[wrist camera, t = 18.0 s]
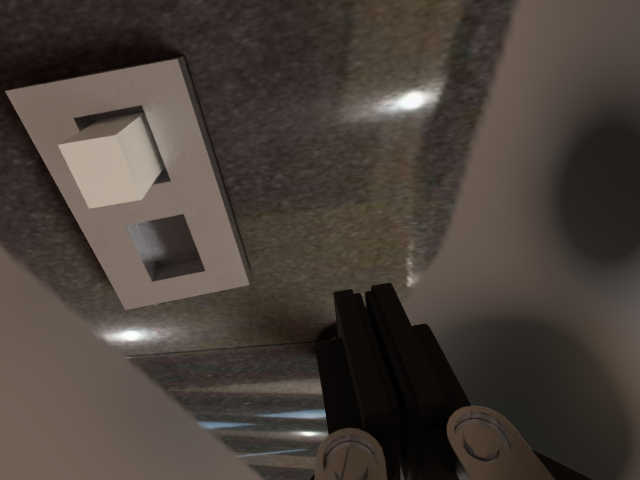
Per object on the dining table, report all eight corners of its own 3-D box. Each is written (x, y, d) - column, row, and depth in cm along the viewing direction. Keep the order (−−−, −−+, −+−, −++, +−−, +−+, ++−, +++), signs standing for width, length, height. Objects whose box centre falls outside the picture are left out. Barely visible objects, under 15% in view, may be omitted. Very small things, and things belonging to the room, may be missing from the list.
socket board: (28, 84, 29) (5, 91, 26) (185, 55, 29) (177, 58, 27) (135, 290, 39) (125, 309, 37) (250, 267, 39) (249, 284, 37)
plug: (99, 119, 30) (57, 144, 24) (145, 111, 30) (115, 135, 24) (122, 173, 32) (89, 208, 26) (164, 166, 32) (141, 199, 26)
